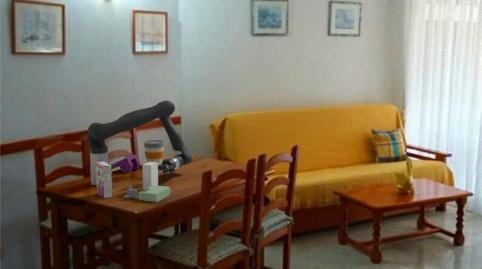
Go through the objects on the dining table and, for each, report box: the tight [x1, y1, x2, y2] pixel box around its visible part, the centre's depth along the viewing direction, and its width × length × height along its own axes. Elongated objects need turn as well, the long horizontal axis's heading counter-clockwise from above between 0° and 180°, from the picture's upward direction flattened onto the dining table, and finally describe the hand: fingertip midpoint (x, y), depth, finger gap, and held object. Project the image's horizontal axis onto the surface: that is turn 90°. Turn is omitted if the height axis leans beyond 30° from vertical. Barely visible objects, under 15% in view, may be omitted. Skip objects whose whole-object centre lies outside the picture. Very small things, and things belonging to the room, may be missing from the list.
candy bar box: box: [95, 162, 114, 200], centre depth 271 cm, size 11×5×16 cm, turn 33°
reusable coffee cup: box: [143, 139, 165, 165], centre depth 338 cm, size 13×12×15 cm
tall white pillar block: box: [141, 162, 159, 190], centre depth 282 cm, size 7×5×14 cm
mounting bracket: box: [110, 154, 141, 174], centre depth 326 cm, size 10×8×18 cm
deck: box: [122, 185, 171, 203], centre depth 270 cm, size 14×19×4 cm
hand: (156, 171), depth 288 cm, fingers open, 8 cm apart
